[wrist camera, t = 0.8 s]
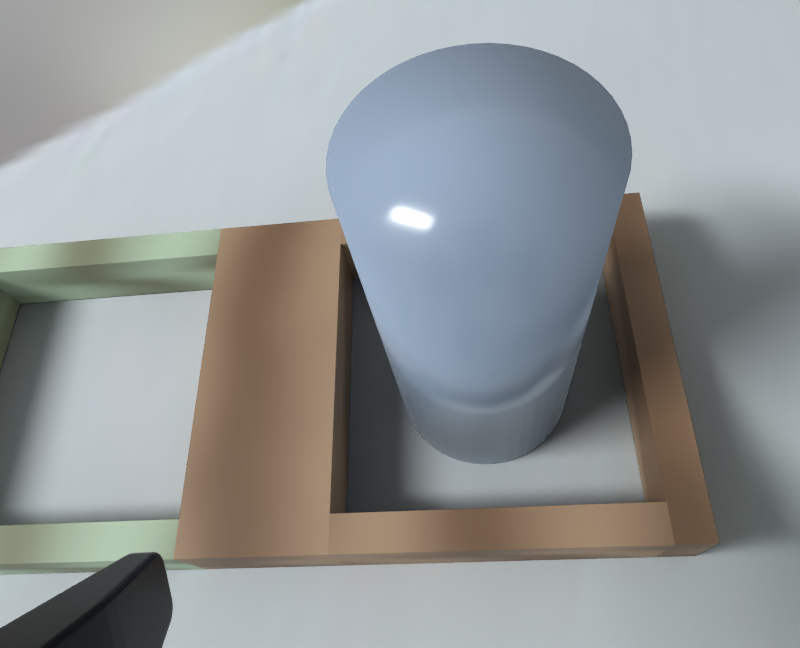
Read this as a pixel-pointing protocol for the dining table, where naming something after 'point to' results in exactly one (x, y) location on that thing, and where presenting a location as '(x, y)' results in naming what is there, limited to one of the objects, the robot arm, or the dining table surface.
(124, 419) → the dining table surface
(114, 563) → the robot arm
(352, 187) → the canister
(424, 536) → the caddy
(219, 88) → the dining table surface
